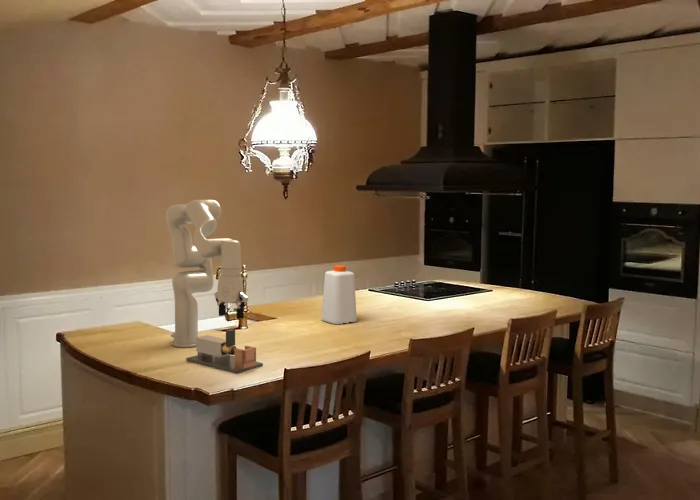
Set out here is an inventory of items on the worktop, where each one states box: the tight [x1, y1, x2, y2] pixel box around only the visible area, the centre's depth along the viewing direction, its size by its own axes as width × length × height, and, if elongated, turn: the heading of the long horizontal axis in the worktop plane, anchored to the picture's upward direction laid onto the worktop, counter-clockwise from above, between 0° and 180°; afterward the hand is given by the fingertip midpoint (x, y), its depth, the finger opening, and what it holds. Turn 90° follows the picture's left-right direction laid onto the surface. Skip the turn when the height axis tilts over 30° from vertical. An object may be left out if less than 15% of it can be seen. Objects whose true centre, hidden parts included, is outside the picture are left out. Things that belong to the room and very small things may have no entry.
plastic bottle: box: [321, 264, 357, 325], centre depth 367 cm, size 15×15×28 cm
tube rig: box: [185, 334, 264, 375], centre depth 285 cm, size 28×14×9 cm, turn 53°
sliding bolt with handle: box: [222, 328, 237, 356], centre depth 287 cm, size 17×4×10 cm, turn 53°
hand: (231, 317), depth 281 cm, fingers open, 9 cm apart
